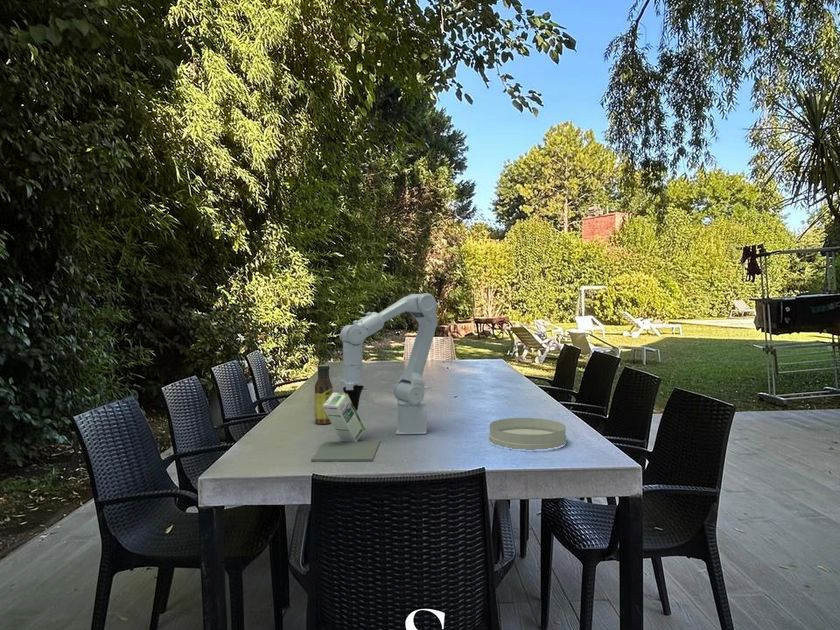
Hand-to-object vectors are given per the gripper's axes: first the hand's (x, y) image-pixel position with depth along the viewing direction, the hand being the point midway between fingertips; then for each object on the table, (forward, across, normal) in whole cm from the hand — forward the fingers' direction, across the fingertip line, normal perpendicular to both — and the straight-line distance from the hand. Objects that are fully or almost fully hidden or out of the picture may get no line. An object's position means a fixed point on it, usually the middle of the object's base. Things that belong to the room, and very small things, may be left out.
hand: (353, 410), depth 163 cm
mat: (+9, +13, 0) cm, 16 cm away
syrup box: (+8, 0, 0) cm, 8 cm away
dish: (+9, +3, +51) cm, 52 cm away
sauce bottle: (+9, -24, -14) cm, 29 cm away
